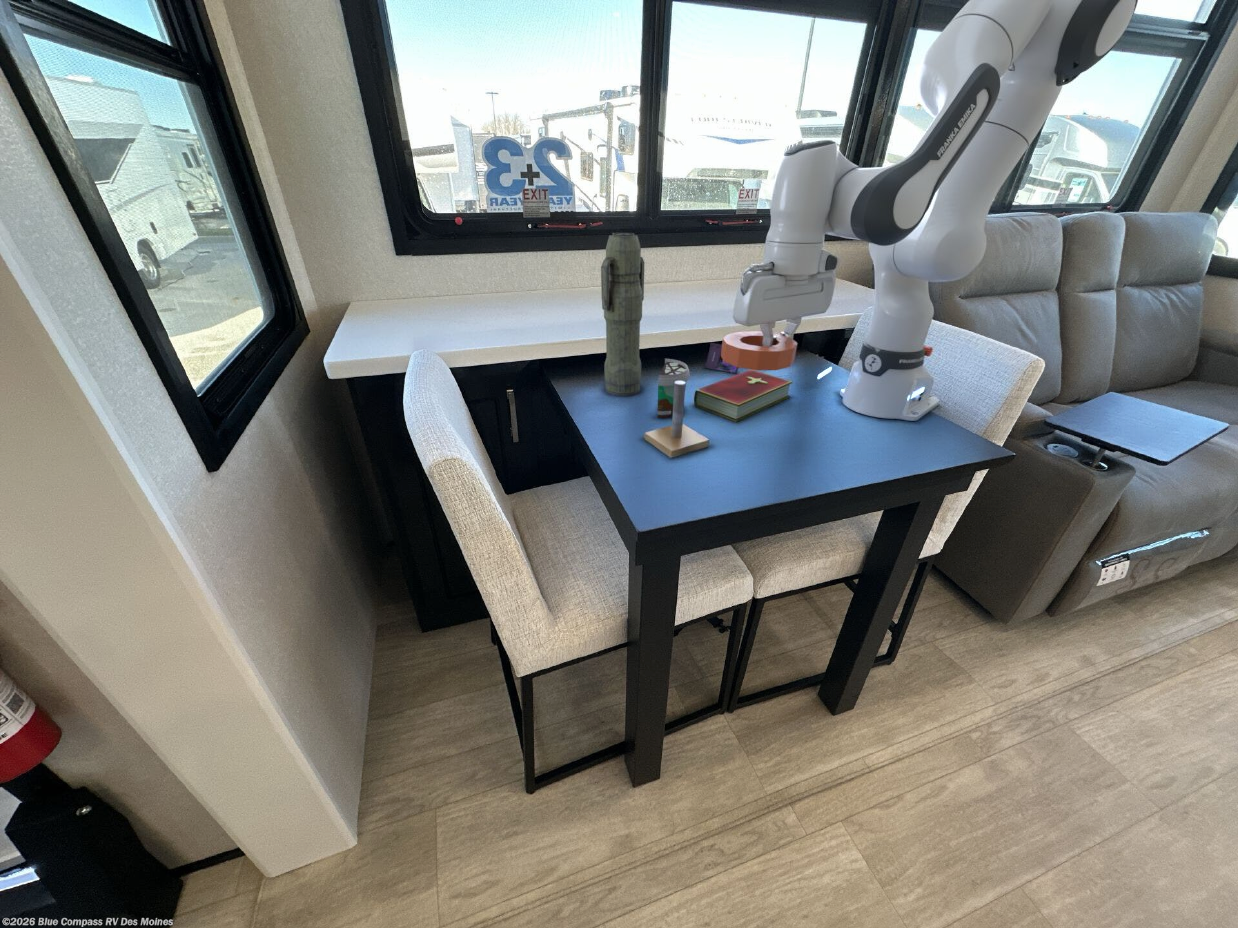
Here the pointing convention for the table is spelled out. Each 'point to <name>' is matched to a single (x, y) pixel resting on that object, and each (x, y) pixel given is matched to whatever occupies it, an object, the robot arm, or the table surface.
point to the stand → (677, 430)
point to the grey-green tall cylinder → (622, 312)
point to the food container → (670, 385)
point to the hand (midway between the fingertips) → (777, 344)
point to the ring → (758, 351)
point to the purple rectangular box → (717, 358)
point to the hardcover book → (742, 394)
